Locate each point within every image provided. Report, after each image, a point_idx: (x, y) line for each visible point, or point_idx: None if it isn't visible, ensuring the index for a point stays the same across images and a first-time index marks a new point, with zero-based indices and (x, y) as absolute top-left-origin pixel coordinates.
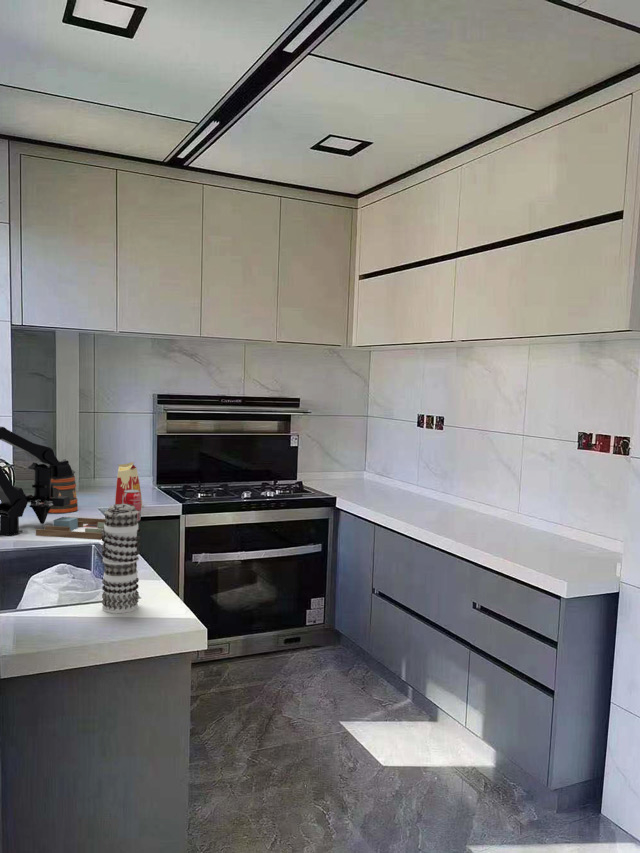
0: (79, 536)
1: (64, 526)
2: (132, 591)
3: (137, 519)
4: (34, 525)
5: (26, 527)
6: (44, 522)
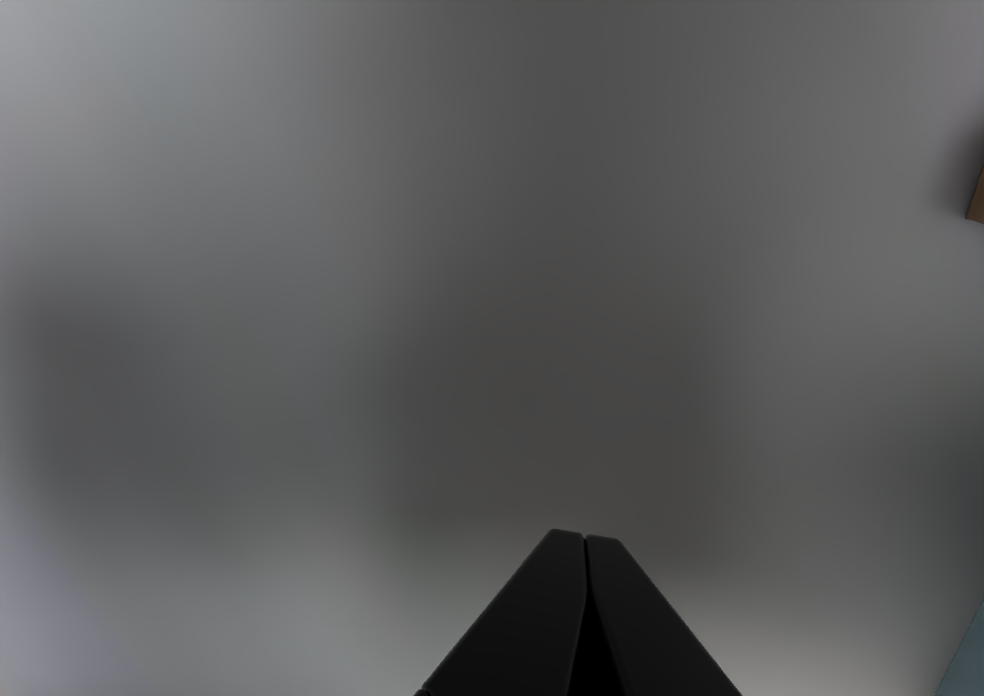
0: None
1: None
2: None
3: None
4: (253, 234)
5: (200, 471)
6: (627, 550)
